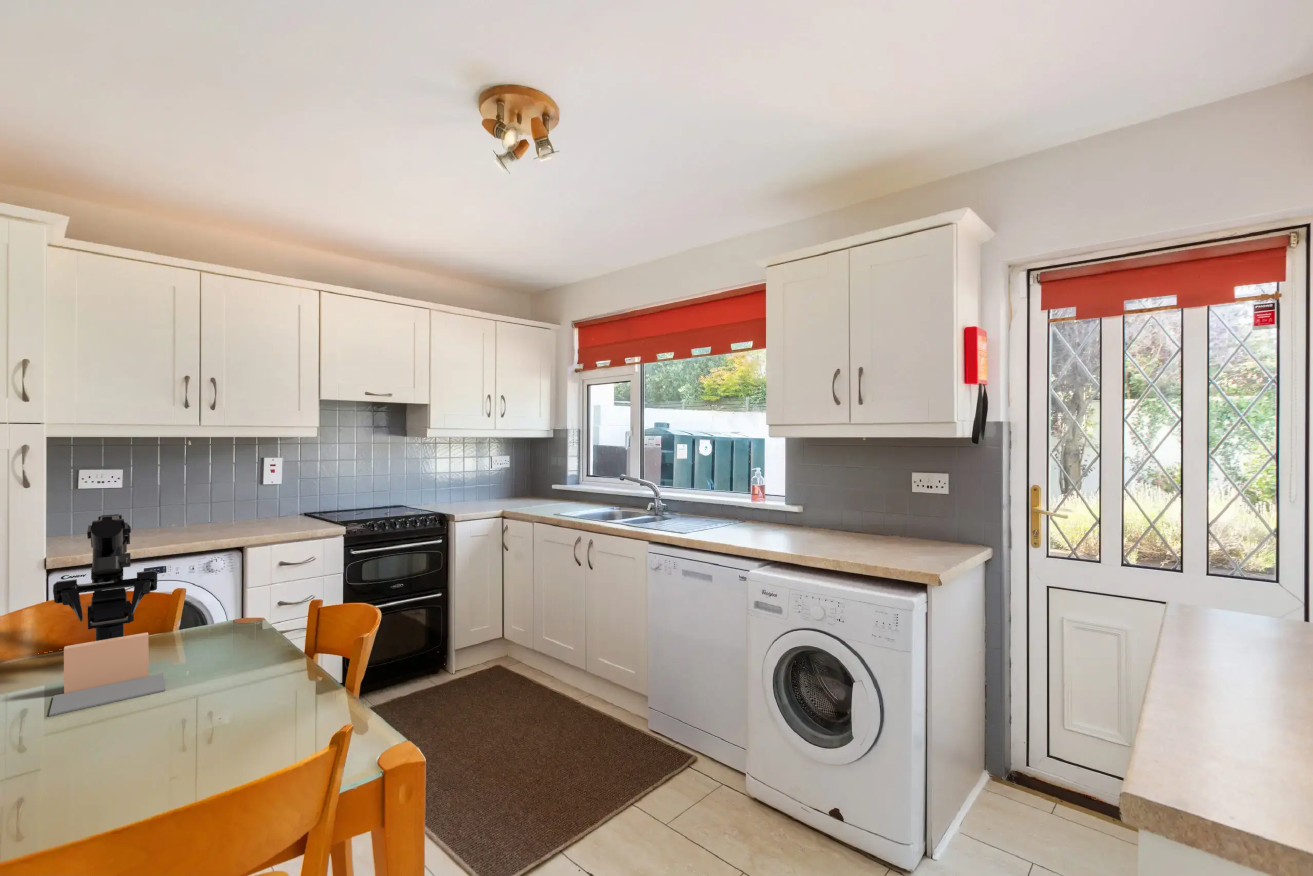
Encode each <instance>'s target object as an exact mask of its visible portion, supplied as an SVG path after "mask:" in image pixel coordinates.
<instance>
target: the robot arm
mask: <svg viewBox="0 0 1313 876" xmlns="http://www.w3.org/2000/svg"><path fill="white" fill-rule="evenodd" d="M122 517H123V516H122V514H118V513H117V514H115V513H114V514H102V515H100V516H98V519H97V520H92V521H91V524H90V525H88V526H87V531H86V533H87V539H88V540H90V545H91V546H90V547H91V549H92V563H91V564H92V566H91V567H92V568H91V569H90V571H91V572H90V579H91V582H88V583H82V584H81V583H80V584H78V579H76V578H75V579H66V580H59V581H58V580H57V581H56V582H55V583H54V584H53V587H52V594H53V601H54V604H62V605H63V606H69V607H70V608H71V609H72V610H73V611H74V613H75V615H76V617H77V618H78V620H79V621H80V622H83V619H84V616H83V608H82V603H81V598H80V594H83V593H90V592H93V593H92V596H91V601H90V602H91V604H90V605H88V606H87V630H92V629H94V638H95V640H94V641H99V640H105V639H111V638H117V637H123V636H125V624H131V623H132V622H134V621H135V617H134V613H135V611H136V609H137V607H138V605H139V604H140V602H141V600H142V599H143V598H144V596H145V595H149V594H150V593H151V592H154V591H156V590H158V571H156V570H154V569H153V570H152V569H151V570H145V571H144V570H143V571H138V572H137V571H136V577H134V578H125V579H124V568H130V567H131V564H132V563H131V552H127V550H128V545H131V533H132V529H131V526H130V524H129V523H128V522H126V521H125V518H122ZM126 588H133V594H132V600H127V599H128V598H127V597H128V596H127V594H128V592H127V591H126Z"/></svg>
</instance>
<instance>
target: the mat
mask: <svg viewBox="0 0 1313 876" xmlns="http://www.w3.org/2000/svg"><path fill="white" fill-rule="evenodd" d="M163 674H164V673H157V674H153V675H149V676H147V677H142V678H137V679H132V680H128V681H123V682H118V683H113V684H108V685H103V686H98V687H93V688H88V689H84V690H79V691H74V692H69V693H60V694H55V695H53V698H52V702H51V705H50V709H49V713H48V717H53V716H59V715H62V714H67V713H72V712H75V711H76V712H77V711H80V710H86V709H89V708H95V707H99V706H102V705H108V704H112V703H116V702H121V701H126V700H129V699H130V700H131V699H134V698H139V697H144V696H148V695H153V694H158V693H161V692H166V685H165V679H164V675H163Z"/></svg>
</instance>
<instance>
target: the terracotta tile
mask: <svg viewBox="0 0 1313 876" xmlns="http://www.w3.org/2000/svg"><path fill="white" fill-rule="evenodd" d="M149 647H150V646H149V632H141V633H136V634H130V635H124V636H123V637H117V638H111V639H105V640H99V641H95V640H94V641H89V642H83V643H75V644H71V645H65V646H64V648H63V692H64V693H69V692H74V691H79V690H84V689H88V688H93V687H98V686H103V685H108V684H113V683H118V682H123V681H128V680H132V679H137V678H142V677H147V676H150V672H149V671H150V669H149V660H150V659H149V652H150V651H149ZM64 693H63V694H64Z"/></svg>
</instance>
